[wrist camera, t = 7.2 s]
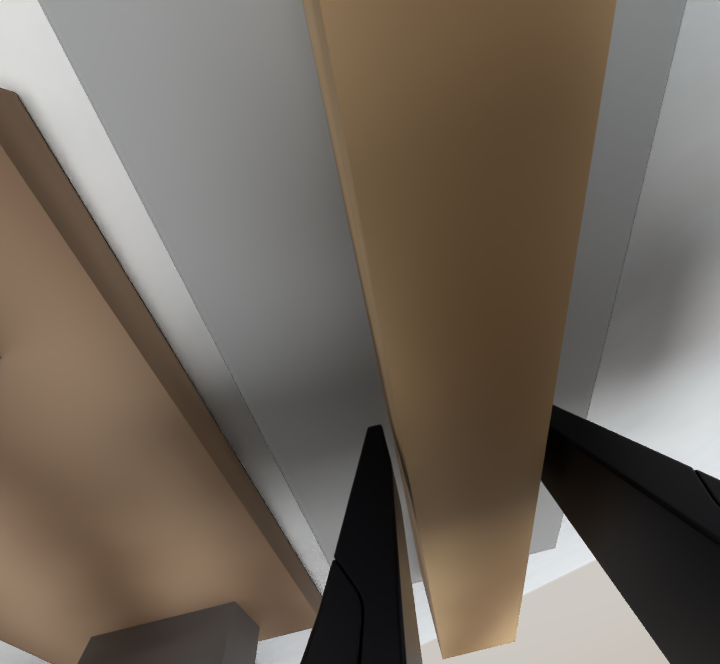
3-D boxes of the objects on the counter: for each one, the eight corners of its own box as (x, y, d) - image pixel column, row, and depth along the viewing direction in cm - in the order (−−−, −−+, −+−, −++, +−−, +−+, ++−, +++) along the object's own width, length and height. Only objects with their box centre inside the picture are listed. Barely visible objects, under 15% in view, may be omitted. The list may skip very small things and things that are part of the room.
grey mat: (346, 585, 15) (347, 599, 14) (-45, -211, 4) (-104, -275, 3) (546, 535, 15) (555, 547, 15) (733, -373, 4) (797, -461, 3)
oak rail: (420, 570, 14) (442, 659, 11) (260, -197, 4) (118, -1069, 1) (478, 555, 14) (515, 641, 11) (474, -244, 4) (804, -1178, 1)
